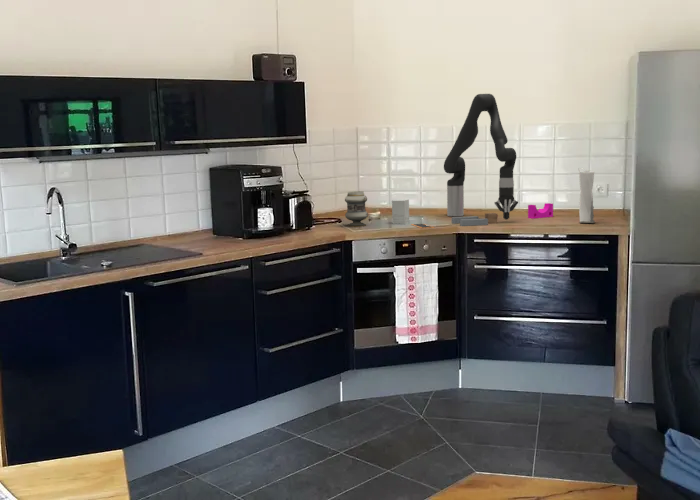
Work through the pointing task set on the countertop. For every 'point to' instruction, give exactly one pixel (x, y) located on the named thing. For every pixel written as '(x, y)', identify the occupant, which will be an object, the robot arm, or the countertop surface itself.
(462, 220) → the grey flat slab
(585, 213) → the skyscraper
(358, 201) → the apothecary jar
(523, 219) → the countertop surface
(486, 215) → the walnut cube
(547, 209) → the toy block
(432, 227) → the trap pit
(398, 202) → the supplement box
